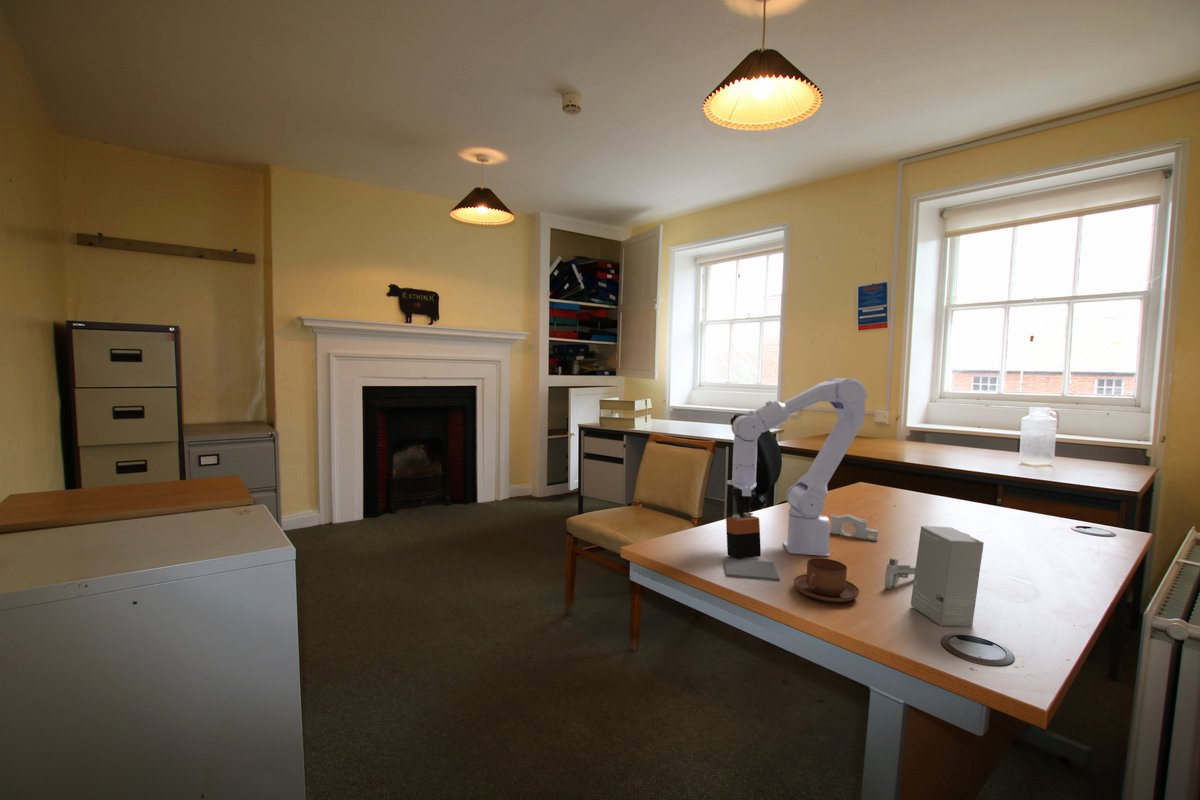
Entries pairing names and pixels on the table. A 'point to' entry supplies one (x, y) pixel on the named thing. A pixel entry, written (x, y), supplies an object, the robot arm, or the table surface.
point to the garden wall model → (859, 525)
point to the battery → (743, 536)
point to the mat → (750, 569)
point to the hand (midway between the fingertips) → (742, 518)
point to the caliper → (896, 573)
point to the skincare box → (947, 575)
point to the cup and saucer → (826, 581)
